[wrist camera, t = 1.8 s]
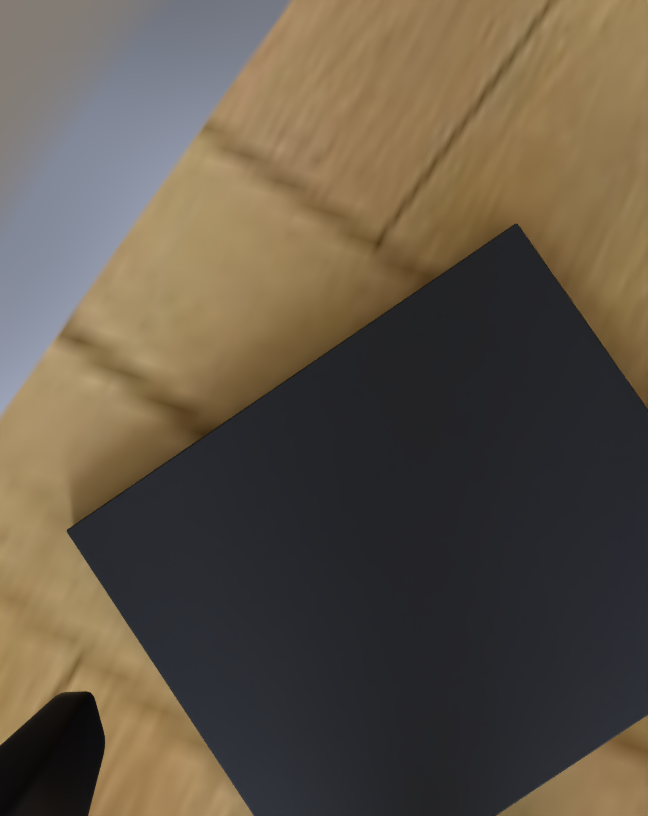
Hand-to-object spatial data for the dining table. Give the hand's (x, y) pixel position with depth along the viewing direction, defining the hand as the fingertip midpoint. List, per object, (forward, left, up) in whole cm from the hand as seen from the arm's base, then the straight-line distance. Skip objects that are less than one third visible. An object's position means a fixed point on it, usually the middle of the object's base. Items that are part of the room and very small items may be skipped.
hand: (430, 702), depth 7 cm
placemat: (-3, 0, -14) cm, 15 cm away
